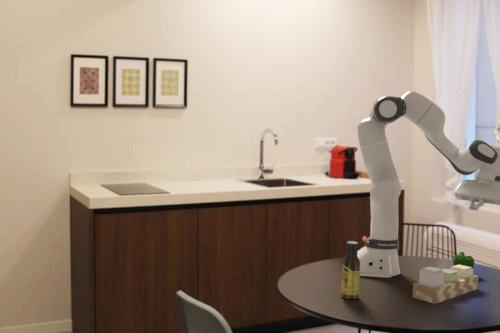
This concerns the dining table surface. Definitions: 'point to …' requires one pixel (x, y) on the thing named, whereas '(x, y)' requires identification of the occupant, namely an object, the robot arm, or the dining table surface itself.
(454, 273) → the sage key
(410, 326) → the dining table surface
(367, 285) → the dining table surface
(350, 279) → the sauce bottle
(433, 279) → the grey key
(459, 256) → the bell pepper
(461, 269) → the cream key
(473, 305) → the dining table surface
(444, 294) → the keypad housing
